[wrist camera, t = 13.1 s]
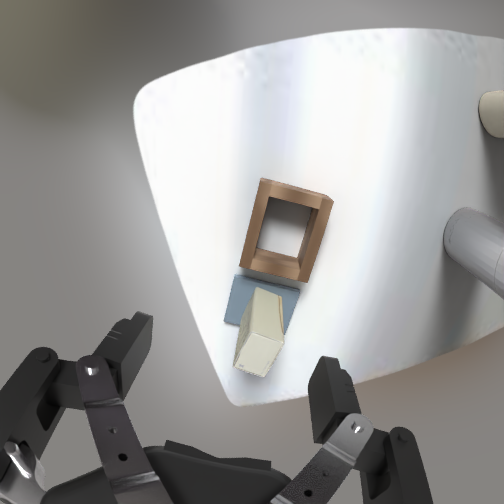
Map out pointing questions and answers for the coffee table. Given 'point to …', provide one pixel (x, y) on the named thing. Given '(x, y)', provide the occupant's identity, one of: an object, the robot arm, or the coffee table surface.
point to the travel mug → (493, 112)
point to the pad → (244, 291)
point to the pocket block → (311, 241)
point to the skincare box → (260, 333)
